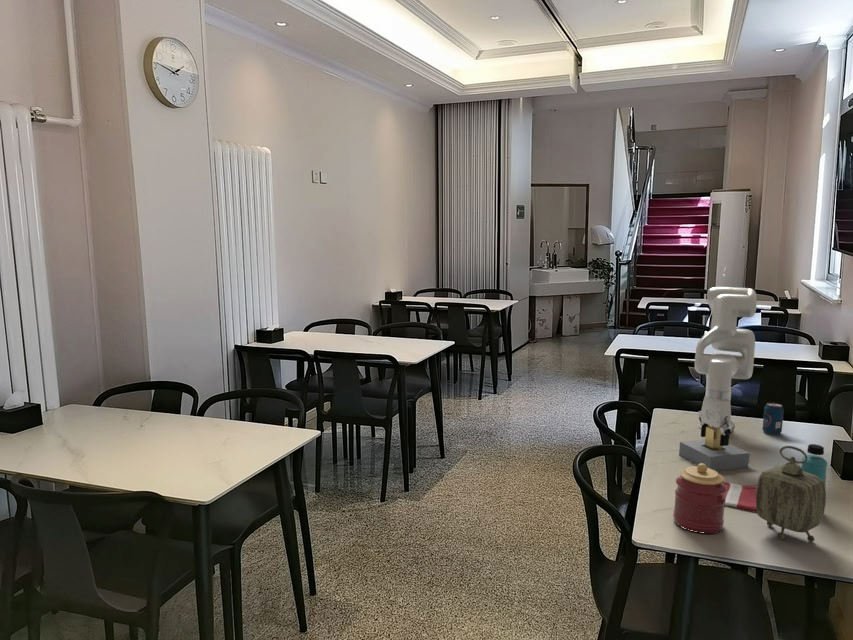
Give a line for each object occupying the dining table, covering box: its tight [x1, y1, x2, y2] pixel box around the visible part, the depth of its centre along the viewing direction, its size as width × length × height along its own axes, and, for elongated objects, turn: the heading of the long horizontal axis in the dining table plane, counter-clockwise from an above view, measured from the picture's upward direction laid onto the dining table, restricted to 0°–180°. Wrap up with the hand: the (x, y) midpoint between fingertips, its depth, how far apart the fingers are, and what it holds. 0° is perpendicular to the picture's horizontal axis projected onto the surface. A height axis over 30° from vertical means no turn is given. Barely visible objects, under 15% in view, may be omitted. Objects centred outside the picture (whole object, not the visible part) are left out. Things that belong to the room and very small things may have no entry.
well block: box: [678, 439, 750, 471], centre depth 227 cm, size 16×16×5 cm
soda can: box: [762, 402, 785, 436], centre depth 259 cm, size 7×7×12 cm
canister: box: [672, 463, 727, 534], centre depth 177 cm, size 13×13×18 cm
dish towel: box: [722, 481, 757, 513], centre depth 197 cm, size 17×23×3 cm
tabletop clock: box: [756, 445, 827, 542], centre depth 170 cm, size 14×9×25 cm, turn 35°
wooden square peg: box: [704, 426, 722, 451], centre depth 227 cm, size 4×4×12 cm
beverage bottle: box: [801, 443, 828, 490], centre depth 186 cm, size 6×7×20 cm
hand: (714, 440), depth 227 cm, fingers open, 9 cm apart
